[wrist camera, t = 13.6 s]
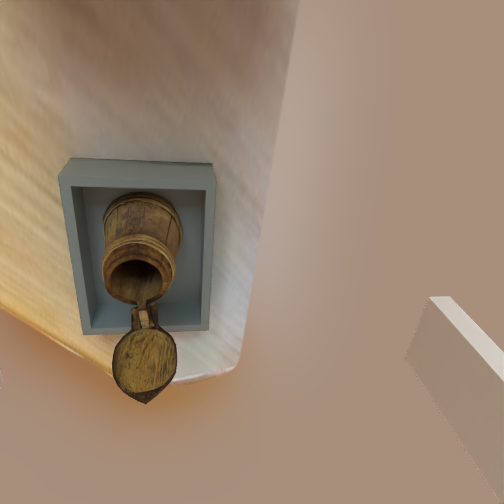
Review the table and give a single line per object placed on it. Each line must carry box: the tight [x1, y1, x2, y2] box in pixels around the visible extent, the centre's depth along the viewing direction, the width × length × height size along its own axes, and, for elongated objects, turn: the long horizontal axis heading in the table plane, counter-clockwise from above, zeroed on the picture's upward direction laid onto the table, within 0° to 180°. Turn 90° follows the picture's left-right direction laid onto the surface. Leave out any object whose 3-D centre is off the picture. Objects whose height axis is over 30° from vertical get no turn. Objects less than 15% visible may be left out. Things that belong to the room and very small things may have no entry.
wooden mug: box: [102, 192, 183, 404], centre depth 40 cm, size 9×14×18 cm, turn 1°
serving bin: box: [58, 158, 216, 335], centre depth 46 cm, size 20×15×6 cm
